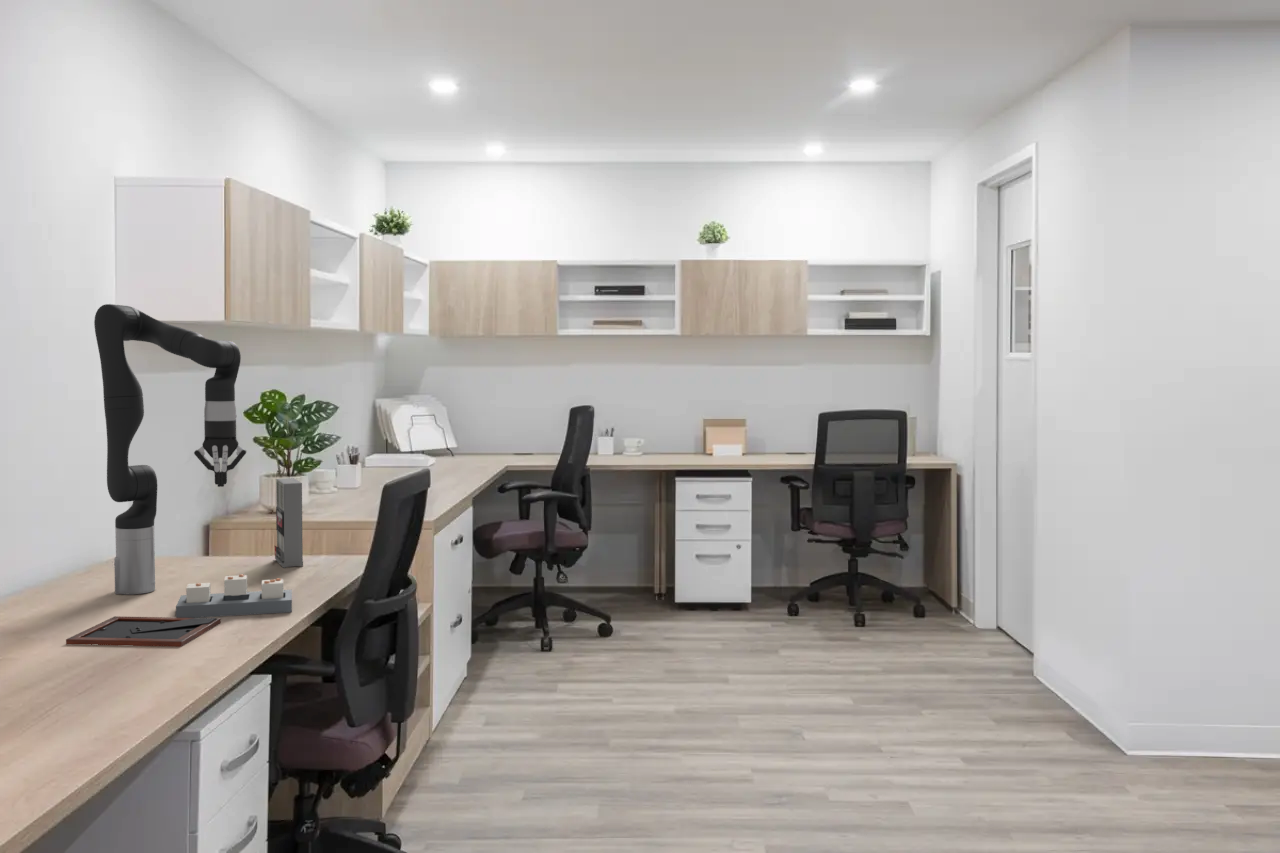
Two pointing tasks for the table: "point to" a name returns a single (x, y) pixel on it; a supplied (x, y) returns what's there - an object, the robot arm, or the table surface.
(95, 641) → the picture frame
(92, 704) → the table surface
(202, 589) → the tile one
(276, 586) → the tile three
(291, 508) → the tall grey labeled box
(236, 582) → the tile two
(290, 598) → the board
